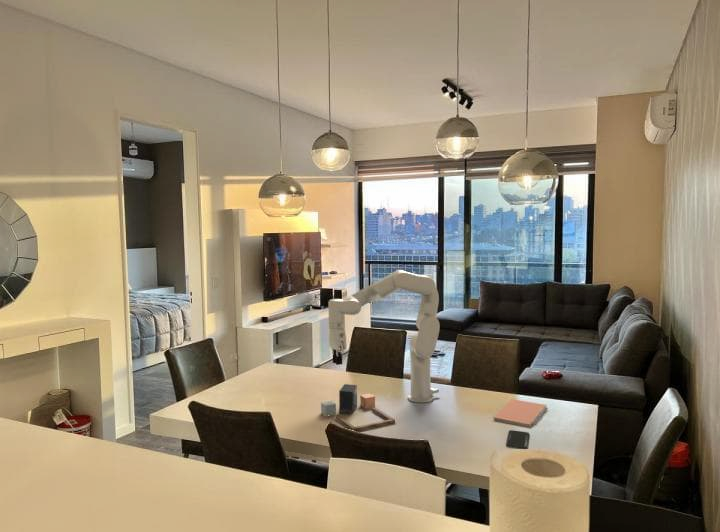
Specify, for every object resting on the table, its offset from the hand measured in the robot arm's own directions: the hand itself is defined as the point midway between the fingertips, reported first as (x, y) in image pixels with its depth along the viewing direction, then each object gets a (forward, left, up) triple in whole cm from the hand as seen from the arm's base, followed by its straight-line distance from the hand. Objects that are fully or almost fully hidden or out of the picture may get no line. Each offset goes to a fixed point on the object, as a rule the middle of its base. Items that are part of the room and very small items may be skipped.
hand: (337, 363), depth 246 cm
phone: (-42, +74, -20) cm, 87 cm away
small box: (0, +11, -19) cm, 22 cm away
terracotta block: (-10, +11, -19) cm, 24 cm away
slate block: (+10, +11, -19) cm, 24 cm away
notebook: (-64, +54, -20) cm, 86 cm away
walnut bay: (0, +26, -19) cm, 32 cm away
